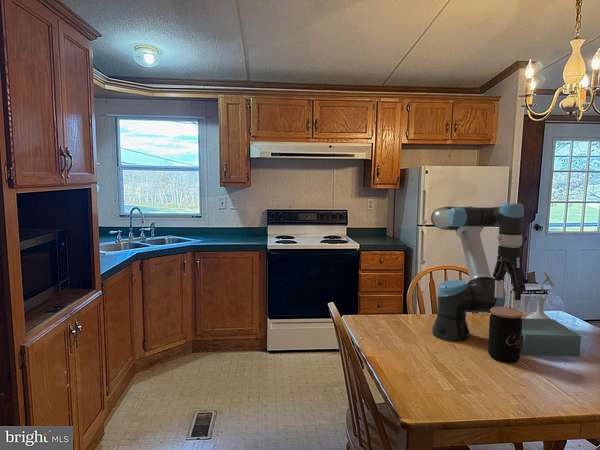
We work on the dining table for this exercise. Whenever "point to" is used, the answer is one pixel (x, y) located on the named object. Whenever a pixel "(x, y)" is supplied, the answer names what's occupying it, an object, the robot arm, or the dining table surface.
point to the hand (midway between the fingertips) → (506, 302)
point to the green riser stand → (549, 338)
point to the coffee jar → (505, 334)
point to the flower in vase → (540, 303)
